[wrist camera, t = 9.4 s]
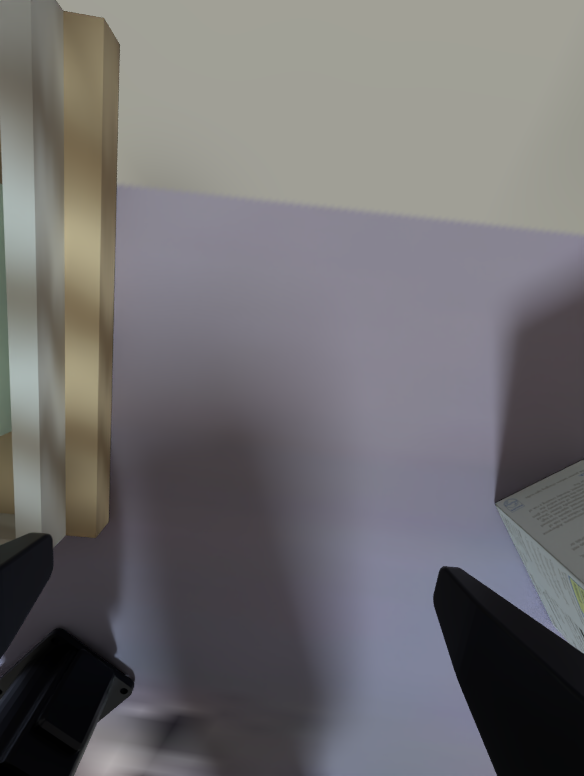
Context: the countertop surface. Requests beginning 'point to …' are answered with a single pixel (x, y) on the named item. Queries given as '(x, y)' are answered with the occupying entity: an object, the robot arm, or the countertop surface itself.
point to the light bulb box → (553, 545)
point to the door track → (58, 266)
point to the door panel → (3, 330)
